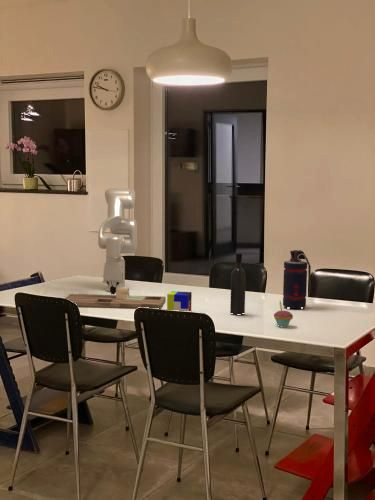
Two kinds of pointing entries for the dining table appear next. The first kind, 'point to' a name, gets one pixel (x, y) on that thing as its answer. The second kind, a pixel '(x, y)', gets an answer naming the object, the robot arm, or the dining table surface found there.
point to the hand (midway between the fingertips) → (113, 294)
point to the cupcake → (283, 317)
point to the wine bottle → (238, 287)
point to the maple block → (122, 293)
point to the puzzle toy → (179, 301)
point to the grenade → (296, 280)
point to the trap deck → (116, 301)
